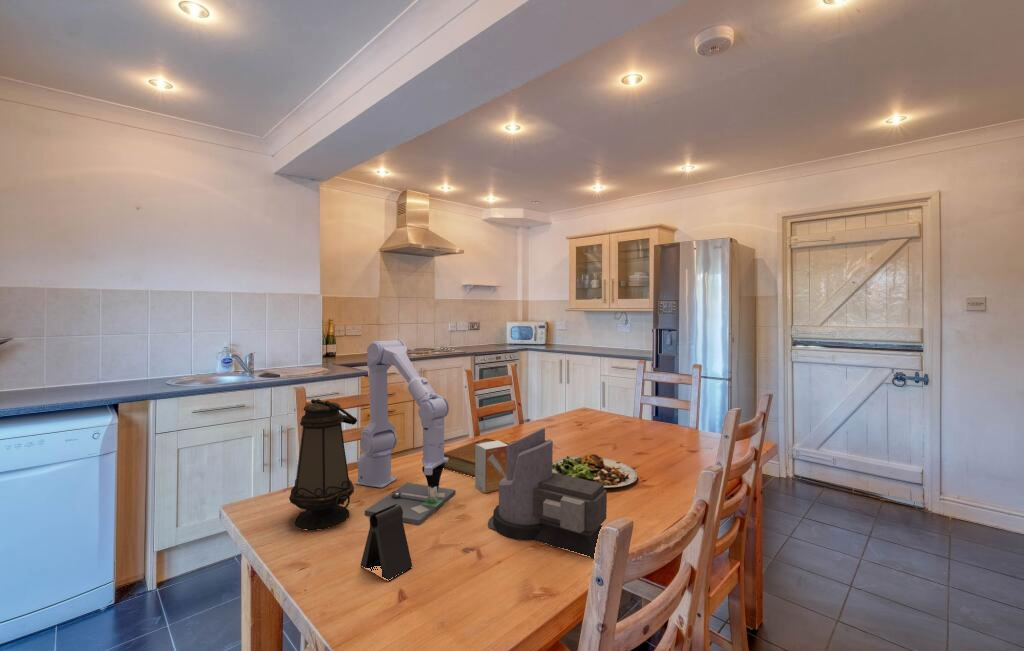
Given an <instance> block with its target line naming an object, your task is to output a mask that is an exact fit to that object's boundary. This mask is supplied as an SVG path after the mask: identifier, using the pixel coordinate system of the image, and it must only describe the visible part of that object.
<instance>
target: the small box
mask: <svg viewBox="0 0 1024 651" xmlns="http://www.w3.org/2000/svg"><path fill="white" fill-rule="evenodd" d="M503 442H504V441H501V440H497V441H492V442H485V443H480V444H476V457H475V478H474V479H475V480H474V485H475V488H476V489H478V490H480V491H481V492H482V493H484V494H487V493H491V492H494V491H499V482H500V481H501V480H502V479H503V478H505V477H506V471H507V444H505V443H506V442H505V443H503Z"/></svg>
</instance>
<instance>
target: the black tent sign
mask: <svg viewBox="0 0 1024 651" xmlns="http://www.w3.org/2000/svg"><path fill="white" fill-rule="evenodd" d="M396 505H397V504H395V505H392V506H390V507H388V508H385V509H383V510H380V511H378V512H376V513H373V514H371V515H370V516H369V529H368V534H367V537H366V541H365V545H364V549H363V554H362V558H361V562H360V567H361V566H363V567H365V568H370V569H371V567H372V569H373V567H374V566H381V567H380V568H381V569H382V577H384V578H386V579H388V580H389V579H391V578H392V577H395V576H396V575H398V574H400V573H402V572H404V571H406V570H407V569H409V568H411V567H412V568H413V563H412V558H411V554H410V549H409V544H408V539H407V535H406V530H405V525H404V522H403V518H402V517H403V510H402V508H401V506H400V505H398V506H396ZM395 506H396V507H395ZM374 568H375V567H374ZM376 568H377V567H376ZM412 568H411V569H412ZM372 569H371V571H372ZM373 570H374V569H373ZM375 570H376V569H375ZM377 570H378V569H377ZM409 570H410V569H409ZM407 571H408V570H407ZM407 571H406V572H407ZM404 573H405V572H404ZM402 574H403V573H402ZM395 578H396V577H395Z"/></svg>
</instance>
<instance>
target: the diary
mask: <svg viewBox="0 0 1024 651" xmlns="http://www.w3.org/2000/svg"><path fill="white" fill-rule="evenodd" d="M492 441H497V440H496V439H492V438H483V439H480V440H478V441H473V442H471V443H469V444H465V445H462V446H459V447H457V448H453V449H450V450H448V451H444V457H447V458H449V460H448V462H443V464H445V466H444V469H443V470H446V469H448V470H447V471H449V470H451V471H450V472H453V471H455V472H454V473H456V472H459V473H462V474H461V475H463V474H465V475H464V476H466V475H469V476H472V477H471V478H473V477H475V457H476V444H480V443H485V442H492ZM502 442H503V443H505V444H507V445H509V444H511V443H509V442H505V441H502ZM459 473H458V474H459ZM469 476H468V477H469Z"/></svg>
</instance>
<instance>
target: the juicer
mask: <svg viewBox="0 0 1024 651" xmlns="http://www.w3.org/2000/svg"><path fill="white" fill-rule="evenodd" d="M553 442H554V440H552V439H546V428H545V427H542V428H541V429H539V430H536V431H534V432H532V433H529V434H528V435H526V436H523V437H520V438H519V439H518V440H515V441H514V442H511V443H510V444H509V445H507V471H506V477H505V478H503V479H502V480H501V481H500V482H499V490H498V505H496V506H495V508H494V509H493V512H492V516H490V518H489V519H488V521H487V529H488V530H492V531H495V532H497V533H498V534H500V536H503V537H506V538H508V539H512V540H518V541H526V540H527V541H534V542H538V543H541V542H543V543H542V544H544V543H547V544H549V545H548V546H550V545H552V546H551V547H553V546H556V547H555V548H557V547H560V548H564V549H568V550H570V551H574V552H577V553H580V554H584V555H587V556H590V557H591V558H590V559H592V560H595V559H594V553H595V547H596V543H597V539H598V534H599V531H600V529H601V527H602V526H603V525H602V524H603V523H604V522H605V521H606V520H607V508H608V506H607V504H608V503H607V502H608V501H607V500H608V497H607V496H608V495H607V494H608V491H607V489H605V487H604V484H603V483H598V482H594V481H589V480H584V479H580V478H575V477H571V476H566V475H561V474H557V473H552V463H553V452H554V451H553V447H554V446H553ZM547 544H546V545H547ZM560 548H559V549H560Z"/></svg>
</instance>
